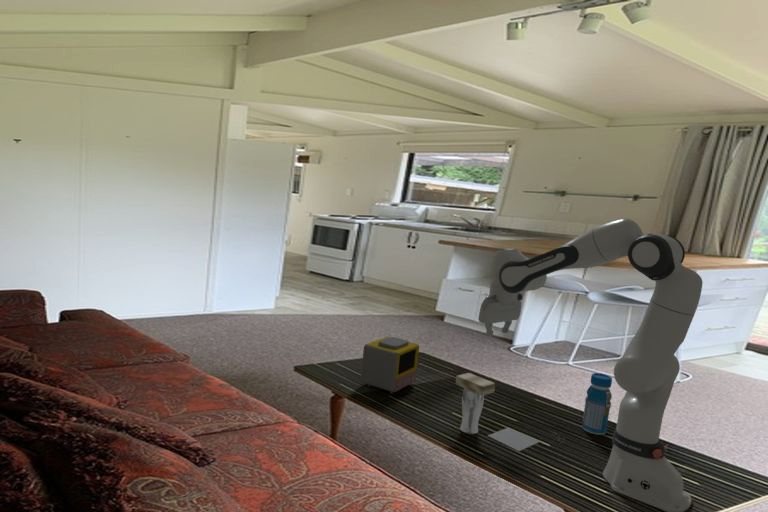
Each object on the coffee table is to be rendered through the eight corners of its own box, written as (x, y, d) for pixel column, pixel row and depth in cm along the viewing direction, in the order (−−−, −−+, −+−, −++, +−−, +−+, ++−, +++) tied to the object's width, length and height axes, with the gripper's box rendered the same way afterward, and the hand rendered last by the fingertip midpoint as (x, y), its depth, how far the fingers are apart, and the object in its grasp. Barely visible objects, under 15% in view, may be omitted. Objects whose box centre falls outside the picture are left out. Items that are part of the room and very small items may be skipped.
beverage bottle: (586, 434, 178) (594, 378, 176) (577, 423, 186) (585, 370, 184) (610, 436, 178) (619, 381, 176) (600, 426, 186) (609, 373, 184)
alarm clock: (393, 398, 193) (398, 350, 191) (358, 386, 201) (363, 341, 199) (417, 384, 210) (422, 341, 208) (384, 374, 218) (388, 332, 216)
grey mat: (539, 443, 167) (539, 441, 167) (518, 452, 159) (519, 451, 159) (508, 429, 176) (508, 427, 175) (487, 437, 167) (487, 435, 167)
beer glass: (479, 437, 166) (485, 393, 165) (457, 433, 168) (463, 389, 166) (479, 429, 173) (485, 386, 172) (458, 425, 174) (464, 382, 173)
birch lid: (494, 392, 167) (495, 383, 167) (482, 395, 163) (483, 386, 162) (467, 381, 175) (468, 372, 175) (455, 384, 171) (456, 375, 170)
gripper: (492, 298, 166) (487, 339, 167) (526, 295, 180) (520, 333, 181) (476, 294, 170) (471, 334, 172) (510, 291, 185) (505, 329, 186)
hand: (497, 334), depth 177 cm, fingers open, 8 cm apart
